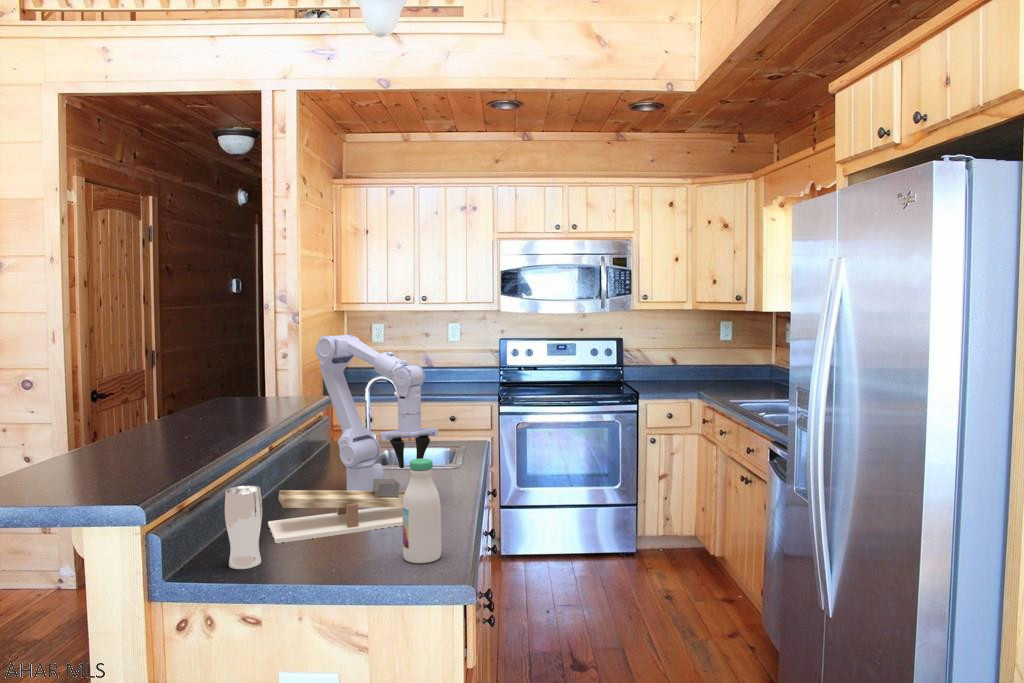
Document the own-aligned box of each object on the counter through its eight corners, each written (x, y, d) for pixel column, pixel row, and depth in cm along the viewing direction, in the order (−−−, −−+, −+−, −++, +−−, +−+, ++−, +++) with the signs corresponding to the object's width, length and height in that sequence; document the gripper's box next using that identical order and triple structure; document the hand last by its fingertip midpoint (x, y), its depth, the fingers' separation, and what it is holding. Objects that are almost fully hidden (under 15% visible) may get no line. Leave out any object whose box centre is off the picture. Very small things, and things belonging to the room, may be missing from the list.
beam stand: (409, 507, 184) (408, 483, 183) (426, 522, 171) (426, 497, 171) (268, 525, 170) (267, 500, 169) (275, 543, 157) (274, 516, 156)
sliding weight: (392, 495, 177) (393, 479, 177) (397, 500, 173) (399, 483, 172) (372, 495, 175) (373, 478, 175) (377, 500, 170) (378, 483, 170)
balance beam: (403, 501, 180) (404, 490, 180) (414, 510, 172) (415, 499, 172) (277, 501, 168) (279, 489, 168) (283, 511, 160) (284, 499, 160)
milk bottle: (447, 553, 150) (446, 457, 149) (431, 566, 143) (430, 465, 142) (413, 549, 153) (412, 455, 152) (396, 561, 145) (394, 463, 144)
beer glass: (232, 558, 148) (230, 485, 147) (267, 557, 149) (265, 484, 148) (221, 571, 141) (219, 494, 140) (258, 569, 142) (256, 493, 141)
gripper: (385, 417, 176) (386, 472, 177) (442, 413, 182) (442, 466, 183) (378, 413, 182) (378, 466, 183) (433, 409, 188) (433, 461, 189)
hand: (410, 466), depth 183 cm, fingers open, 4 cm apart
